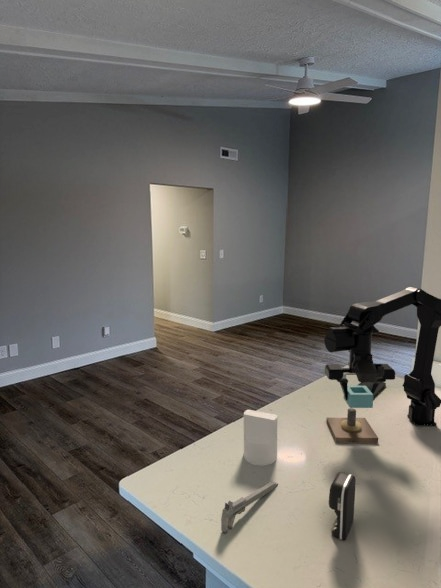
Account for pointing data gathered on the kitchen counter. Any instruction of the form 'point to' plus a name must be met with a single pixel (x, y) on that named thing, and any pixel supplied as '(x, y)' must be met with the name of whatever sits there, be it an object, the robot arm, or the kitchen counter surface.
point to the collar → (359, 397)
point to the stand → (351, 429)
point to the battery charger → (342, 503)
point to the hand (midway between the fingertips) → (357, 399)
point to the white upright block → (260, 437)
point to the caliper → (242, 505)
